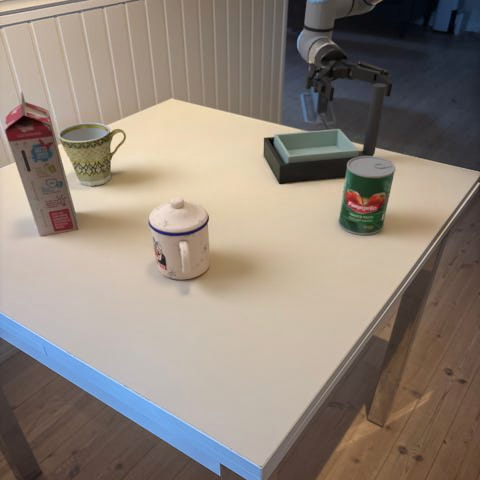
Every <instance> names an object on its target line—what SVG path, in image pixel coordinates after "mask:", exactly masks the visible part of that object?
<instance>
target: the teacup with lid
mask: <svg viewBox="0 0 480 480" xmlns="http://www.w3.org/2000/svg"><path fill="white" fill-rule="evenodd" d="M209 221H210V215H209V213H208V211H207V210H206V209H205V207H204V206H203V205H201V204H199V203H197V202H193V201H190V200H189V201H188V200H184V199H183V198H182V197H180V196H175V197H173V198H171V199H170V201H169V202H165V203H163V204H160V205H158V206H156V207H155V208H154V209H152V211H151V212H150V214H149V217H148V226H149V227H150V231H151V237H152V243H153V250H154V255H155V257H154V258H155V262H156V268H157V271H158V272H159V273H160V274H161V275H162V276H164V277H166V278H169V279H173V280H182V281H184V280H191V279H194V278H197V277H200V276H201V275H203V274H204V273H205V272H206V271H207V270H208V269H209V268H210V265H211V254H210V253H211V252H210V238H209Z"/></svg>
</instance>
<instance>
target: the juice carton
mask: <svg viewBox="0 0 480 480" xmlns="http://www.w3.org/2000/svg"><path fill="white" fill-rule="evenodd" d="M4 133H5V135H6V139H7V141H8V146H9V147H10V150H11V153H12V154H11V155H12V157H13V159H14V162H15V165H16V169H17V171H18V174H19V178H20V181H21V184H22V187H23V189H24V193H25V196H26V199H27V202H28V204H29V208H30V211H31V213H32V216H33V220H34V222H35V223H34V224H35V225H36V229H37V231H38V235H39V237H43V236H49V235H54V234H61V233H67V232H71V231H77V230H79V226H78V219H77V213H76V209H75V204H74V201H73V198H72V194H71V190H70V186H69V182H68V179H67V175H66V172H65V171H66V170H65V168H64V164H63V161H62V156H61V153H60V149H59V146H58V141H57V137H56V133H55V131H54V126H53V123H52V119H51V115H50V111H49V110H47V109H46V108H43V107H41V106H38V105H35V104H32V103H30V102H27V101H26V100H25V97H24V93H23V91H20V104H19V105H18V106H17V105H16V107H15V108H13V109H12V110H10V111H9V112H8V113H7V114H6V115H5V124H4Z"/></svg>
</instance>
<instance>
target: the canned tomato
mask: <svg viewBox="0 0 480 480" xmlns="http://www.w3.org/2000/svg"><path fill="white" fill-rule="evenodd" d="M395 172H396V165H395V164H394V163H393V162H392V161H391V160H389V159H387V158H385V157H379V156H376V155H375V156H374V155H373V156H360V157H356V158H353V159H351V160H349V162H348V163H347V170H346V177H345V178H344V185H343V190H342V198H341V203H340V204H341V205H340V211H339V218H338V225H339V227H340V228H341V229H342V230H344V231H345V232H347V233H350V234H352V235H358V236H371V235H375V234H377V233H379V232H381V231H382V229H383V228H384V221H385V218H386V213H387V208H388V203H389V199H390V194H391V191H392V185H393V180H394V176H395Z"/></svg>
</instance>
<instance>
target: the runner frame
mask: <svg viewBox="0 0 480 480" xmlns="http://www.w3.org/2000/svg"><path fill="white" fill-rule="evenodd" d="M263 157H264V159H265V161H266V162H267V165H268V166H269V168H270V170H271V172H272V174H273V175H274V177H275V179H276V181H277V182H278V184H279V185H285V184H295V183H306V182H317V181H325V180H336V178H337V179H345V177H346V170H347V163H348V162H349V160H351V159H353V158H356V157H351V158H340V159H329V160H318V161H308V162H297V163H286V164H283V163H282V161H281V160H280V158H279V156H278V155H277V153H276V151H275V150H274V136H268V137H267V136H266V137H263Z"/></svg>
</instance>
